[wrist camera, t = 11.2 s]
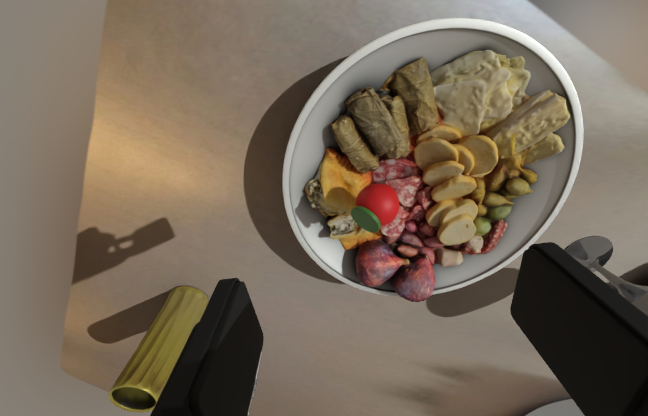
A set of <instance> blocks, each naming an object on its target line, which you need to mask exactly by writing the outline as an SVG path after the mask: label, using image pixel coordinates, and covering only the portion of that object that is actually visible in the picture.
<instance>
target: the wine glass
mask: <svg viewBox="0 0 648 416" xmlns="http://www.w3.org/2000/svg"><path fill="white" fill-rule="evenodd" d="M564 251H566V252H567V253H568V254H569V255H571V256H572V257H573V258H574V259H576V260H577V261H578V262H580V263H581V264H582V265H583V266H585V267H586V268H587V269H588V270H590V271H591V272H592V273H593V272H595V271H596V270H597V271H598V272H600V273H601V274H602V275H603V276H604V277H605V278H607V279H608V280H609V281H610V282H611V283H612V284H613V285H614V286H615V287H616V289H617V290H618V292H619V294H620V295H622V296H623V297H624V298H625V299H627V300H628V301H629V302H631V303H632V304H633V305H634V306H636V307H637V308H638V309H639V310H641V311H642V312H643V313H645V314H646V315H647V316H648V286H641V285H636V284H632V283H629V282H627V281H625V280H623V279H621V278H619V277H617V276H616V275H614V274H612V273H611V272H609V271H608V270H606V269H605V268H603V267H602V266H603V265H604V264H606V262H607V261H608V260H609V259H610V257H611V255H612V252H613V246H612V243H611V242H610V241H609V240H608V239H607V238H604V237H600V236H592V237H587V238H583V239H581V240H578V241H576V242H574V243H573V244H571V245H570V246H569V247H568V248H566V249H565V250H564Z"/></svg>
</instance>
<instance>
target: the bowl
mask: <svg viewBox="0 0 648 416" xmlns="http://www.w3.org/2000/svg"><path fill="white" fill-rule="evenodd" d="M582 148H583V118H582V111H581V107H580V102H579V99H578V96H577V93H576V90H575V88H574V86H573V83H572V81H571V79H570V78H569V76H568V74H567V72H566V71H565V69H564V68H563V66H562V65H561V64H560V62H559V61H558V60H557V59H556V58H555V57H554V56H553V55H552V53H551V52H550V51H549V50H547V49H546V48H545V47H544V46H543V45H541V44H540V43H539V42H538V41H536V40H535V39H533V38H532V37H530V36H528V35H527V34H525V33H523V32H521V31H519V30H517V29H514V28H512V27H510V26H507V25H504V24H501V23H497V22H493V21H489V20H483V19H476V18H442V19H435V20H428V21H424V22H419V23H415V24H412V25H409V26H405V27H402V28H400V29H397V30H394V31H392V32H389V33H387V34H385V35H383V36H381V37H379V38H377V39H375V40H373V41H371V42H370V43H368V44H366V45H364V46H363V47H361V48H360V49H358V50H357V51H355V52H354V53H353V54H351V55H350V56H349V57H347V58H346V59H345V60H344V61H342V62H341V63H340V64H339V65H338V66H337V67H336V68H334V69H333V70H332V71H331V72H330V73H329V74H328V75H327V77H326V78H325V79H324V80H323V81H322V82H321V83H320V84H319V86H318V87H317V88H316V90H315V91H314V92H313V93H312V95H311V96H310V98H309V99H308V101H307V102H306V104H305V106H304V107H303V109H302V111H301V113H300V115H299V117H298V119H297V121H296V123H295V125H294V128H293V130H292V132H291V135H290V138H289V141H288V145H287V148H286V152H285V157H284V164H283V174H282V189H283V199H284V205H285V209H286V213H287V217H288V220H289V223H290V225H291V228H292V230H293V232H294V234H295V236H296V238H297V239H298V241H299V243H300V244H301V246H302V247H303V249H304V250H305V251H306V252H307V254H308V255H309V256H310V257H311V258H312V259H313V260H314V261H315V262H316V263H317V264H318V265H319V266H320V267H321V268H322V269H324V270H325V271H326V272H327V273H329V274H330V275H332V276H333V277H335V278H337V279H338V280H340V281H342V282H344V283H346V284H348V285H350V286H353V287H355V288H358V289H361V290H364V291H367V292H371V293H375V294H380V295H387V296H397V297H403V298H405V299H406V300H410V301H411V302H420V301H424V300H426V299H428V298H429V297H430V296H431V295H434V294H439V293H444V292H448V291H452V290H455V289H458V288H461V287H464V286H467V285H470V284H472V283H475V282H477V281H479V280H481V279H483V278H485V277H487V276H489V275H491V274H493V273H495V272H496V271H498V270H500V269H501V268H503V267H504V266H506V265H507V264H509V263H510V262H512V261H513V260H514V259H516V258H517V257H518V256H520V255H521V254H522V253H523V252H524V251H525V250H527V249H528V248H529V246H530V245H532V244H533V243H534V242H535V241H536V240H537V239H538V238H539V237H540V236H541V235H542V234H543V233H544V231H545V230H546V229H547V228H548V226H549V225H550V224H551V223H552V221H553V220H554V219H555V217H556V216H557V214H558V213H559V211H560V209H561V208H562V206H563V204H564V203H565V201H566V199H567V197H568V195H569V193H570V190H571V188H572V186H573V183H574V181H575V178H576V175H577V172H578V168H579V164H580V160H581V155H582ZM371 184H387V185H390V186H391V187H393V188H394V190H395V191H396V193H397V196H398V199H399V211H398V214H397V216H396V217H395V219H394V220H393V221H392V222H390V223H389V224H387V225H385V226H381V228H380V229H379V231H378V232H375V233H373V232H369V231H366V230H364V229H363V228H361V227H360V226H359V225H358V224H357V223H356V222H355V221H354V220H353V218H352V216H351V210H352V209H353V208H354V207H355V203H356V198H357V196H358V194H359V193H360V191H361V190H362V189H363V188H365V187H366V186H368V185H371Z"/></svg>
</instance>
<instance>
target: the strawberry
mask: <svg viewBox="0 0 648 416" xmlns="http://www.w3.org/2000/svg"><path fill="white" fill-rule="evenodd" d="M398 211H399V199H398V196H397V193H396V191H395V190H394V188H393V187H391V186H390V185H387V184H371V185H368V186H366V187H365V188H363V189H362V190H361V191H360V193H359V194H358V196H357V198H356V203H355V207H354V208H353V209H352V210H351V216H352V218H353V220H354V221H355V222H356V223H357V224H358V225H359V226H360V227H361V228H363V229H364V230H366V231H369V232H373V233H375V232H378V231H379V229H380V228H381V226H385V225H387V224H389V223H390V222H392V221H393V220H394V219H395V217H396V216H397V214H398Z"/></svg>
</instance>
